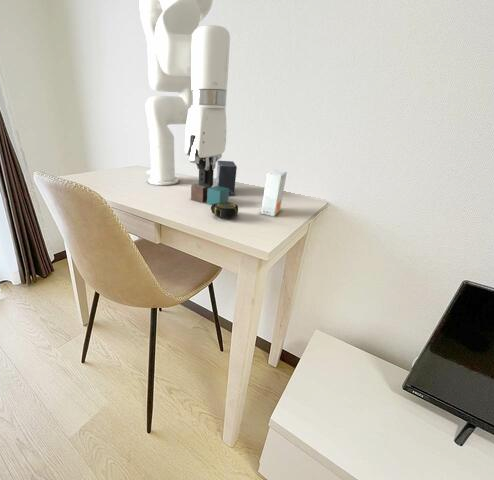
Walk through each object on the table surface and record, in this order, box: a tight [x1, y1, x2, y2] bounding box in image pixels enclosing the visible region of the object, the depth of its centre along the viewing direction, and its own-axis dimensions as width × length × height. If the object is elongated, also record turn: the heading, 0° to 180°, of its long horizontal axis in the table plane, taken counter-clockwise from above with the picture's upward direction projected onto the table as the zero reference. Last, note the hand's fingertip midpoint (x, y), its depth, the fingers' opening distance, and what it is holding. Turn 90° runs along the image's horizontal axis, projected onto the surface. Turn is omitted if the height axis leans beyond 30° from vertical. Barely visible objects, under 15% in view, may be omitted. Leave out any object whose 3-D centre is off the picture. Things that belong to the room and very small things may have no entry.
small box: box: [215, 160, 238, 196], centre depth 95 cm, size 11×6×10 cm, turn 179°
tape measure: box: [210, 201, 239, 220], centre depth 73 cm, size 7×7×4 cm
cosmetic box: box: [260, 169, 288, 217], centre depth 76 cm, size 6×4×12 cm
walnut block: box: [190, 182, 213, 203], centre depth 87 cm, size 5×5×5 cm
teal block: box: [206, 185, 230, 206], centre depth 84 cm, size 5×5×5 cm
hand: (205, 185), depth 63 cm, fingers closed
